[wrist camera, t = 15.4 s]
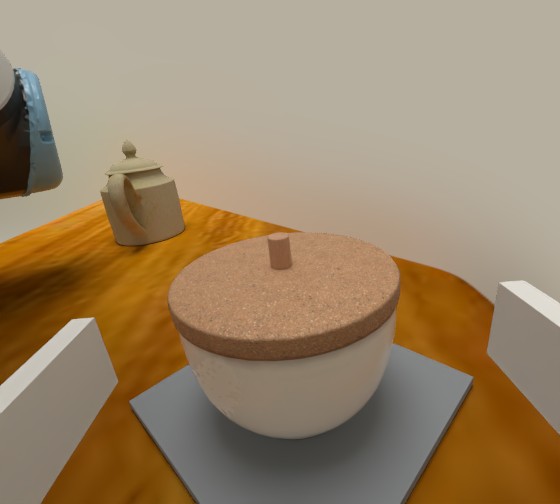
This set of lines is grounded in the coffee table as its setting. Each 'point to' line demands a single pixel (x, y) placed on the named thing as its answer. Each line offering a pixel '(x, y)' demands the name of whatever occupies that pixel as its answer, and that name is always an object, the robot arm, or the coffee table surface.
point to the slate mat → (308, 441)
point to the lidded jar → (288, 329)
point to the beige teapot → (141, 201)
